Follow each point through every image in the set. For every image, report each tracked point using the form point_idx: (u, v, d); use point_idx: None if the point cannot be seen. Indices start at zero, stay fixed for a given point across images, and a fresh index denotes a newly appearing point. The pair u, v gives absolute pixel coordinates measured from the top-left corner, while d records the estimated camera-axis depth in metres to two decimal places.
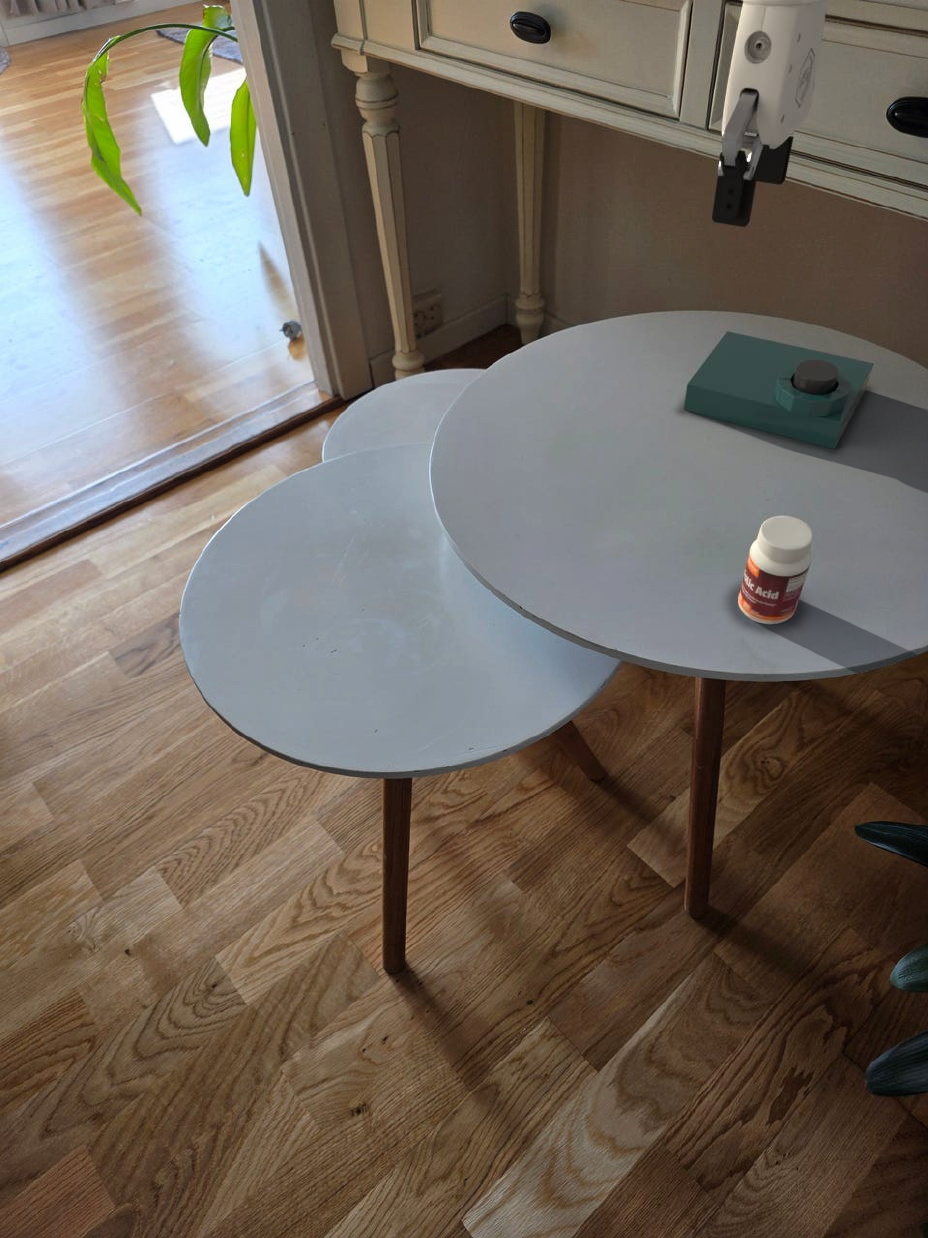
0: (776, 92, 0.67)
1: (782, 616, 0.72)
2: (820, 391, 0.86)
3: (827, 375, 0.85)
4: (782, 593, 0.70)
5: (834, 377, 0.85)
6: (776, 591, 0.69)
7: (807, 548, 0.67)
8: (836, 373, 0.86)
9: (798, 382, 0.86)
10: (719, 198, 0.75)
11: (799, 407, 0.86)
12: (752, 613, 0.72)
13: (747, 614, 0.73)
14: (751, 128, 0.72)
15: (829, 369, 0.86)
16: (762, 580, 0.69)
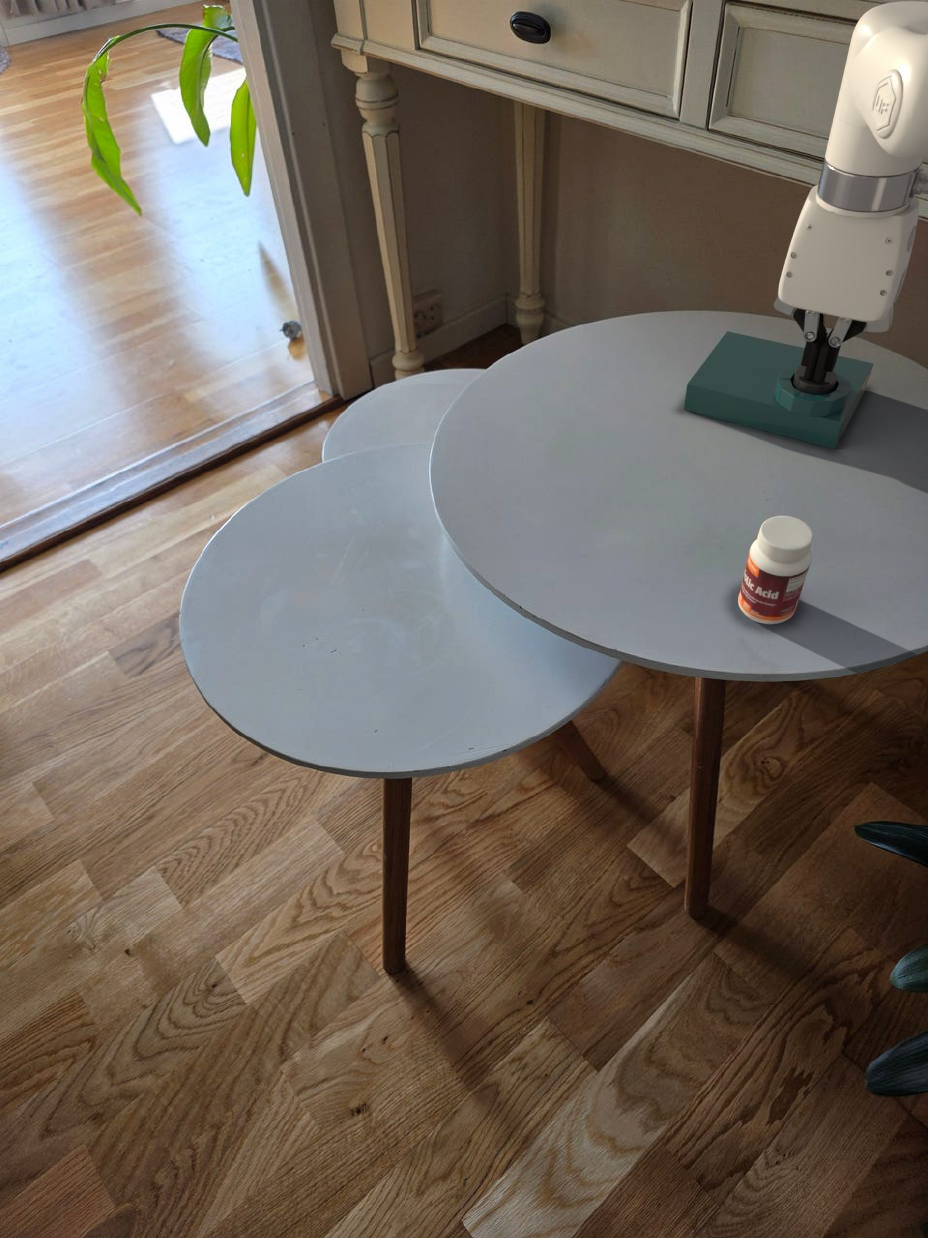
0: None
1: (782, 616, 0.72)
2: None
3: (826, 380, 0.86)
4: (782, 593, 0.70)
5: (832, 382, 0.86)
6: (776, 591, 0.69)
7: (807, 548, 0.67)
8: (835, 378, 0.86)
9: (797, 387, 0.87)
10: (824, 363, 0.84)
11: (799, 407, 0.86)
12: (752, 613, 0.72)
13: (747, 614, 0.73)
14: None
15: (828, 374, 0.87)
16: (762, 580, 0.69)
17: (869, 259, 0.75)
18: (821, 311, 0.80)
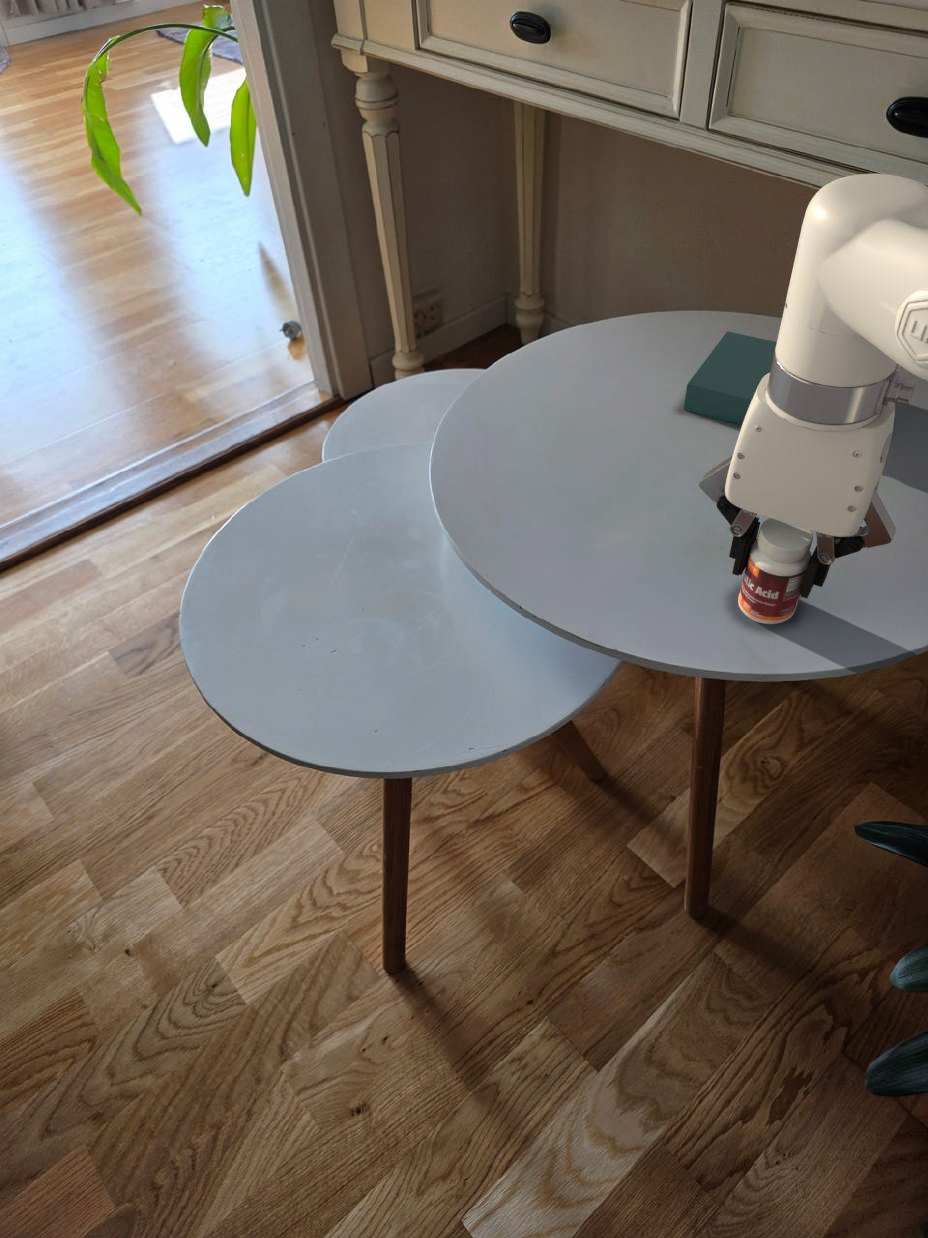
0: None
1: (782, 616, 0.72)
2: None
3: None
4: (782, 593, 0.70)
5: None
6: (776, 591, 0.69)
7: (807, 548, 0.67)
8: None
9: None
10: (813, 579, 0.68)
11: None
12: (752, 613, 0.72)
13: (747, 614, 0.73)
14: None
15: None
16: (762, 580, 0.69)
17: (833, 472, 0.60)
18: (777, 519, 0.65)
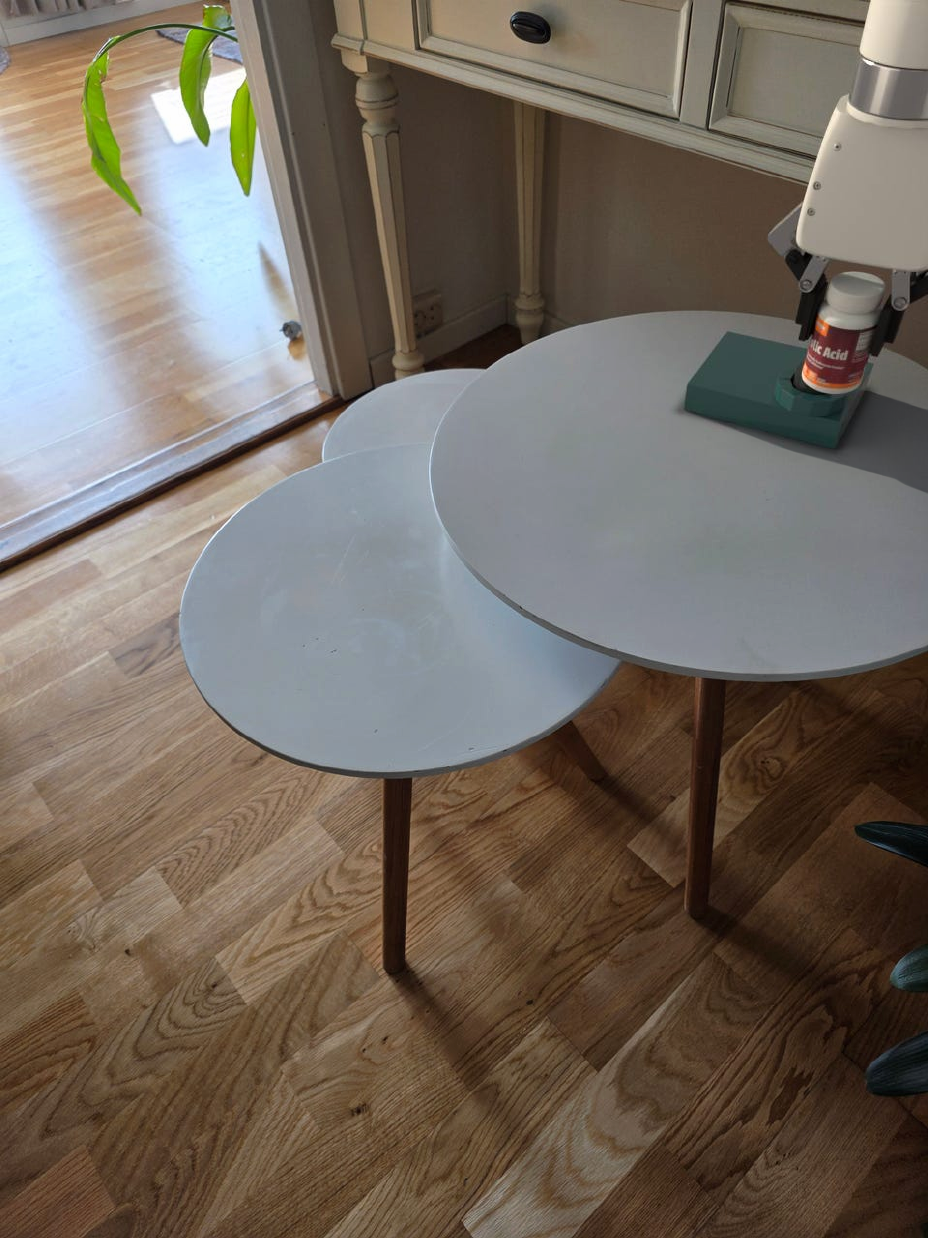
0: None
1: (849, 383, 0.70)
2: None
3: None
4: (851, 352, 0.68)
5: None
6: (845, 350, 0.68)
7: (880, 297, 0.65)
8: None
9: (798, 382, 0.86)
10: (885, 332, 0.66)
11: (799, 407, 0.86)
12: (818, 382, 0.71)
13: (812, 385, 0.71)
14: None
15: None
16: (831, 338, 0.68)
17: (916, 186, 0.58)
18: (851, 259, 0.63)
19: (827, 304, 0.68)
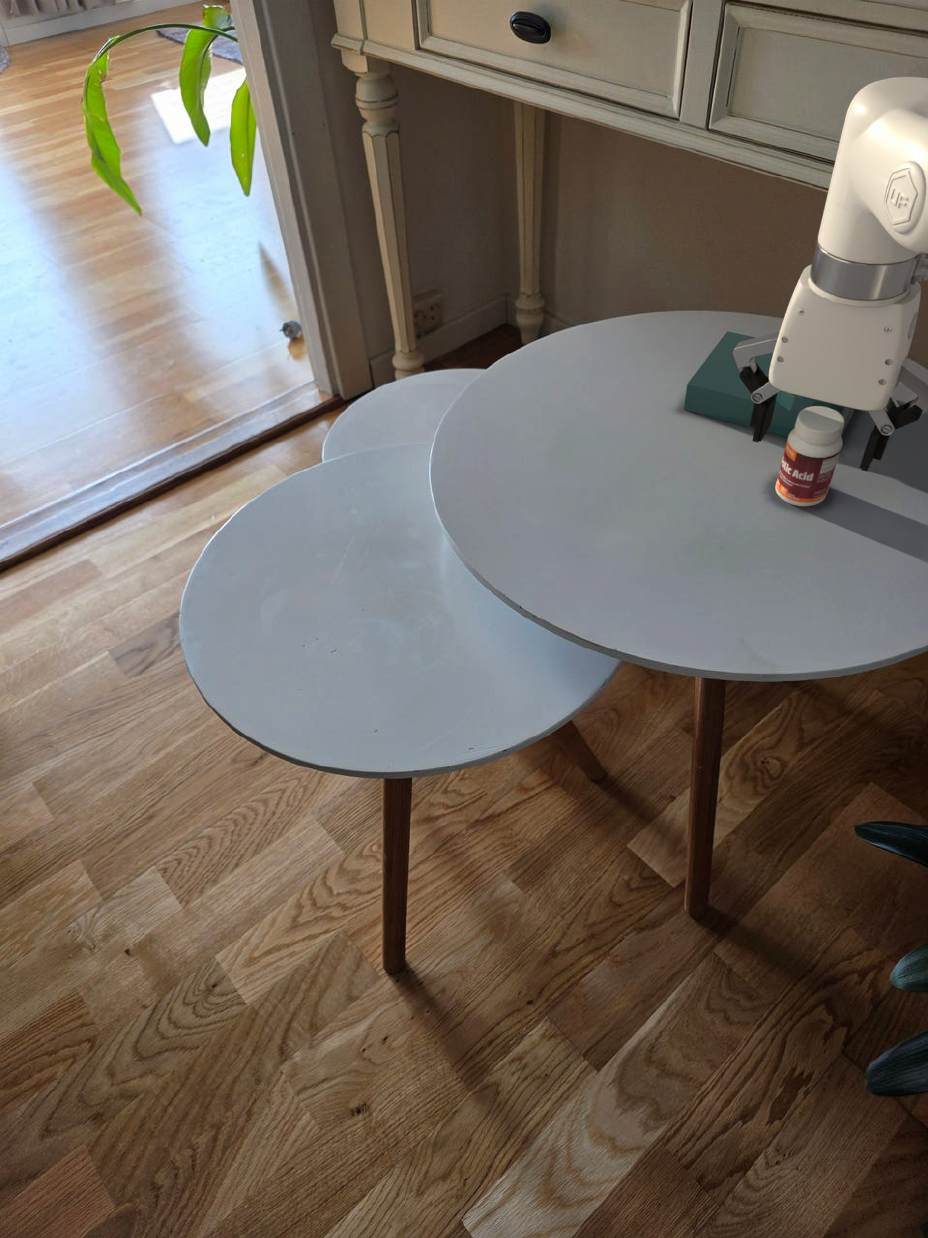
0: None
1: (815, 498, 0.81)
2: None
3: None
4: (816, 474, 0.79)
5: None
6: (811, 473, 0.79)
7: (839, 431, 0.77)
8: None
9: None
10: (873, 451, 0.76)
11: (799, 407, 0.86)
12: (788, 496, 0.82)
13: (784, 498, 0.82)
14: None
15: None
16: (798, 463, 0.79)
17: (866, 347, 0.69)
18: (815, 398, 0.74)
19: (795, 434, 0.79)
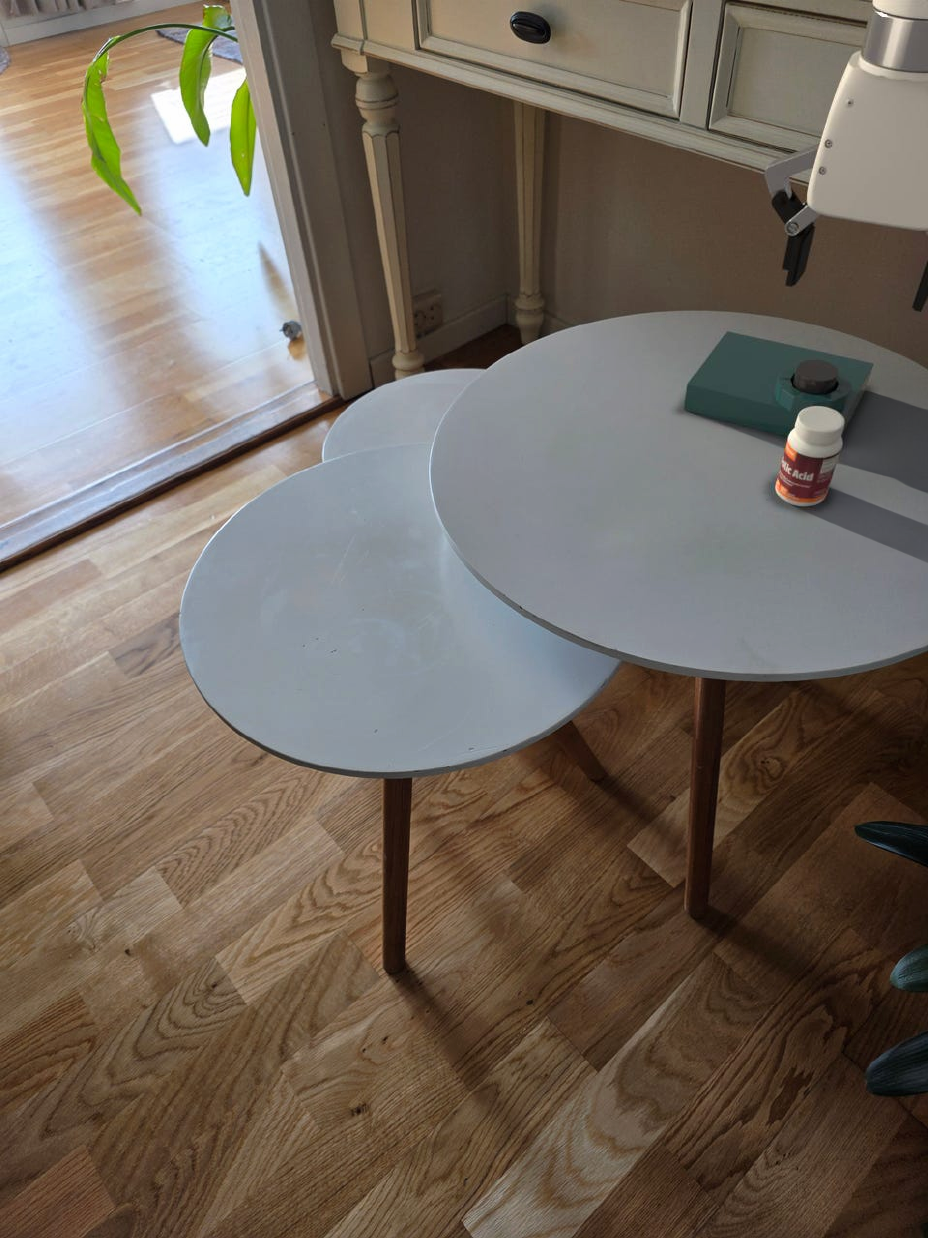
0: None
1: (815, 498, 0.81)
2: (820, 391, 0.86)
3: (827, 375, 0.85)
4: (816, 474, 0.79)
5: (834, 377, 0.85)
6: (811, 473, 0.79)
7: (839, 431, 0.77)
8: (836, 373, 0.86)
9: (798, 382, 0.86)
10: None
11: (799, 407, 0.86)
12: (788, 496, 0.82)
13: (784, 498, 0.82)
14: None
15: (829, 369, 0.86)
16: (798, 463, 0.79)
17: None
18: (862, 218, 0.63)
19: (795, 434, 0.79)
